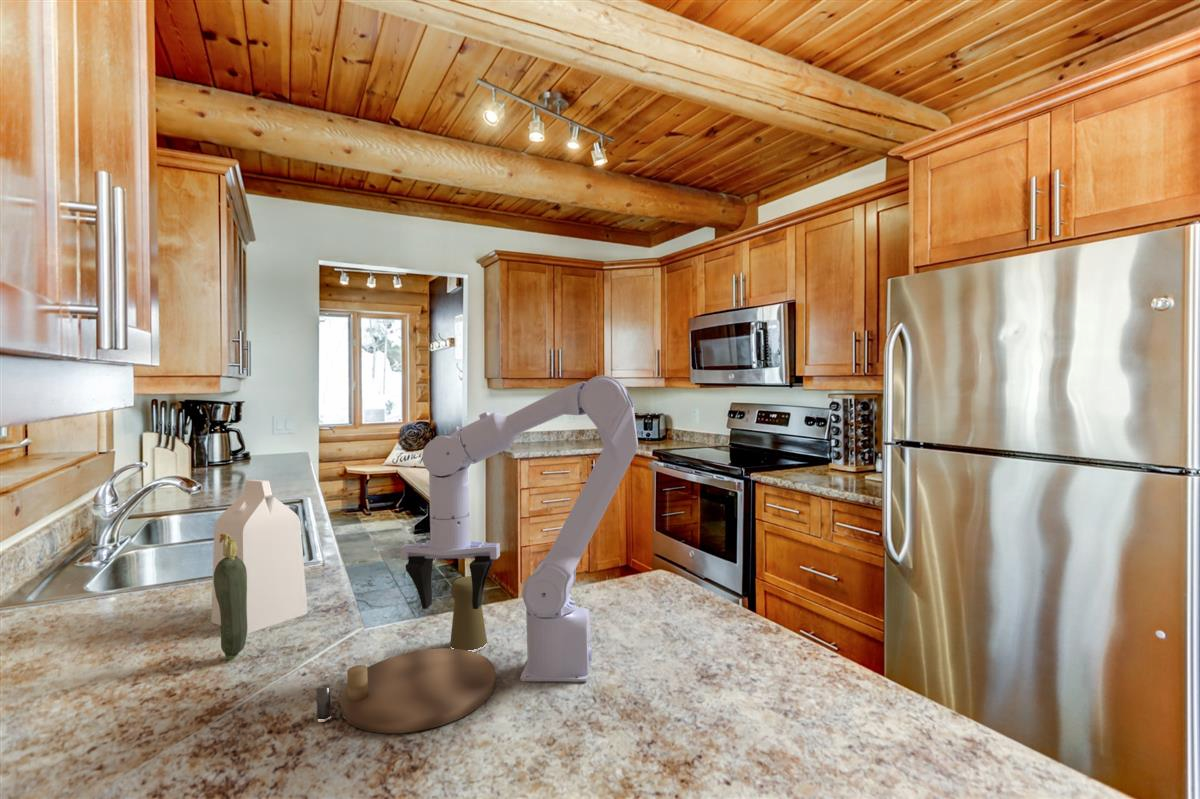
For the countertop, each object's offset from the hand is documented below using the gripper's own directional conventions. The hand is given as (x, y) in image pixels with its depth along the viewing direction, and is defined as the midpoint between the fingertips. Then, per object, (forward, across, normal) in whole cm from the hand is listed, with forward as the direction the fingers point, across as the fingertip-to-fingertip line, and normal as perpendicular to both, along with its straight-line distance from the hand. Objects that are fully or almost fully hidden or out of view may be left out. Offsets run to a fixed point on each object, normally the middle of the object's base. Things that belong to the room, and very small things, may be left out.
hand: (451, 606), depth 85 cm
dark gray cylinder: (+9, +4, +8) cm, 13 cm away
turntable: (+9, +2, +8) cm, 12 cm away
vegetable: (+9, +36, -2) cm, 37 cm away
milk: (+9, +44, -20) cm, 49 cm away
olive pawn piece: (+9, 0, -8) cm, 12 cm away
